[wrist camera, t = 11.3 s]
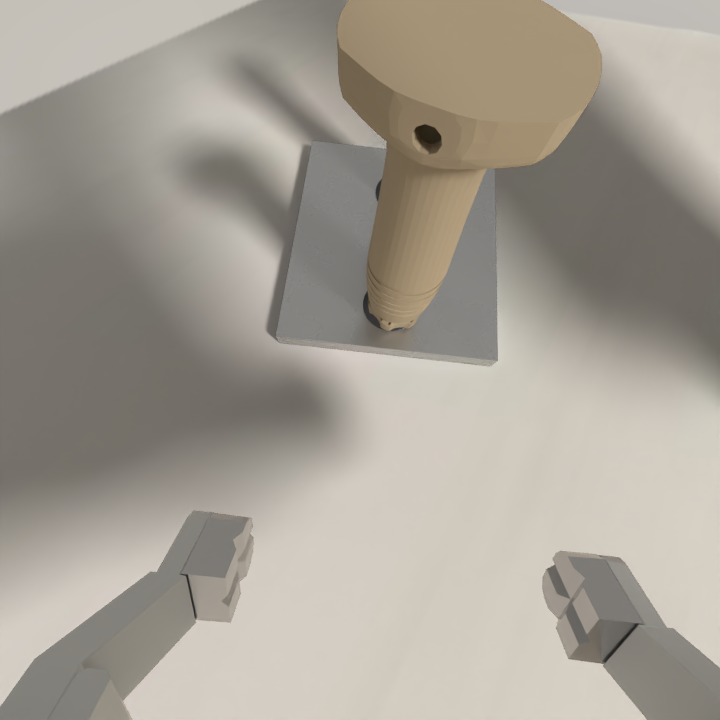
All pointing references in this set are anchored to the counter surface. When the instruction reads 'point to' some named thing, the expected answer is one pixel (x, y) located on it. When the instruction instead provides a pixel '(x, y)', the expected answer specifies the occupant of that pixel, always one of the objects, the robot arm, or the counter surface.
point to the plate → (349, 264)
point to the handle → (453, 119)
